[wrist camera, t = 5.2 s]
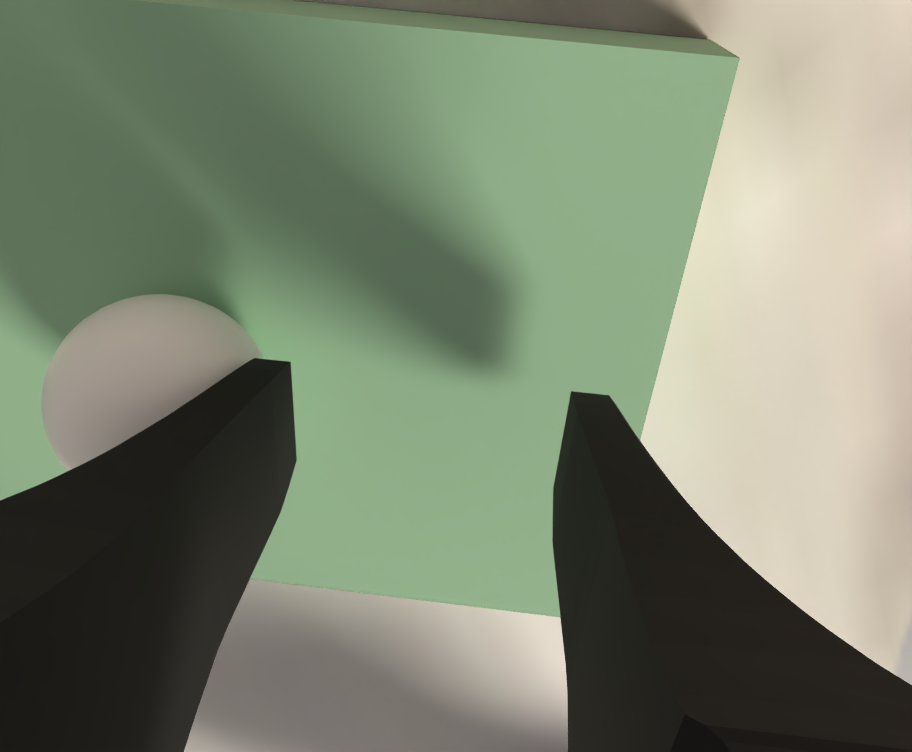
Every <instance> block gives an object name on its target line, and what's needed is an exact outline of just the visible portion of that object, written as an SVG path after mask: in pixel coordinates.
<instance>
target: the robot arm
mask: <svg viewBox="0 0 912 752" xmlns="http://www.w3.org/2000/svg"><path fill="white" fill-rule="evenodd" d="M296 461H297V455H296V439H295V423H294V407H293V391H292V375H291V362H288V361H278V360H269V359H259V358H253V359H252V360H250V361H248V362H247V363H245V364H244V365H242V366H241V367H239V368H238V369H236V370H235V371H233V372H232V373H230V374H229V375H227V376H226V377H224V378H223V379H221V380H220V381H218V382H217V383H215V384H214V385H213V386H211V387H210V388H208V389H207V390H205V391H204V392H202V393H201V394H199V395H198V396H196V397H195V398H193V399H192V400H190V401H189V402H187V403H186V404H184V405H183V406H181V407H180V408H178V409H177V410H175V411H174V412H172V413H171V414H169V415H167V416H166V417H164V418H163V419H161V420H159V421H158V422H156V423H154V424H153V425H151V426H149V427H148V428H146V429H144V430H143V431H141V432H139V433H138V434H136V435H134V436H132V437H131V438H129V439H127V440H126V441H124V442H122V443H121V444H119V445H117V446H116V447H114V448H112V449H110V450H108V451H107V452H105V453H103V454H101V455H99V456H97V457H95V458H93V459H91V460H90V461H88V462H86V463H84V464H82V465H80V466H78V467H75V468H73V469H71V470H69V471H67V472H65V473H63V474H61V475H59V476H57V477H55V478H53V479H50V480H48V481H46V482H44V483H42V484H39V485H37V486H35V487H32V488H30V489H27V490H25V491H22V492H20V493H17V494H15V495H12V496H10V497H8V498H5V499H3V500H0V752H184V749H185V746H186V743H187V740H188V736H189V733H190V730H191V727H192V724H193V721H194V718H195V715H196V712H197V709H198V706H199V703H200V700H201V697H202V694H203V691H204V688H205V685H206V683H207V680H208V677H209V674H210V671H211V668H212V665H213V662H214V659H215V657H216V654H217V651H218V648H219V646H220V643H221V641H222V639H223V636H224V634H225V631H226V629H227V627H228V624H229V622H230V620H231V618H232V616H233V613H234V611H235V609H236V607H237V605H238V603H239V601H240V599H241V596H242V594H243V592H244V590H245V588H246V586H247V584H248V582H249V579H250V577H251V575H252V573H253V571H254V569H255V567H256V565H257V562H258V560H259V558H260V556H261V554H262V552H263V550H264V548H265V545H266V543H267V541H268V539H269V537H270V535H271V532H272V530H273V528H274V526H275V524H276V521H277V519H278V517H279V515H280V512H281V510H282V507H283V504H284V501H285V497H286V494H287V491H288V488H289V485H290V481H291V478H292V475H293V471H294V468H295V464H296ZM552 542H553V552H554V562H555V571H556V580H557V590H558V598H559V607H560V616H561V625H562V634H563V643H564V652H565V661H566V674H567V689H568V752H912V685H910V684H909V683H907V682H905V681H904V680H902V679H901V678H899V677H897V676H896V675H894V674H892V673H891V672H889V671H888V670H886V669H884V668H883V667H881V666H880V665H878V664H877V663H875V662H874V661H872V660H871V659H869V658H868V657H866V656H865V655H863V654H862V653H861V652H859V651H858V650H856V649H855V648H853V647H852V646H851V645H849V644H848V643H846V642H845V641H843V640H842V639H841V638H839V637H838V636H836V635H835V634H833V633H832V632H831V631H829V630H828V629H826V628H825V627H824V626H822V625H821V624H820V623H818V622H817V621H816V620H814V619H813V618H812V617H811V616H809V615H808V614H807V613H805V612H804V611H803V610H801V609H800V608H799V607H798V606H796V605H795V604H794V603H793V602H791V601H790V600H789V599H788V598H787V597H785V596H784V595H783V594H782V593H781V592H779V591H778V590H777V589H776V588H774V587H773V586H772V585H771V584H770V583H768V582H767V581H766V580H765V579H764V578H762V577H761V576H760V575H759V574H758V573H757V572H756V571H755V570H753V569H752V568H751V567H750V566H749V565H748V564H747V563H746V562H744V561H743V560H742V559H741V558H740V557H739V556H738V555H737V554H736V553H735V552H734V551H733V550H732V549H731V548H730V547H729V546H728V545H727V544H726V543H725V542H724V541H723V540H722V539H721V538H720V537H719V536H718V535H717V534H716V533H715V532H714V531H713V530H712V529H711V528H710V527H709V526H708V525H707V524H706V523H705V522H704V521H703V520H702V519H701V518H700V516H699V515H698V514H697V513H696V512H695V511H694V510H693V508H692V507H691V506H690V505H689V504H688V503H687V502H686V500H685V499H684V498H683V497H682V496H681V494H680V493H679V492H678V491H677V490H676V488H675V487H674V486H673V485H672V483H671V482H670V481H669V479H668V478H667V477H666V475H665V474H664V473H663V472H662V470H661V469H660V468H659V466H658V465H657V464H656V462H655V461H654V460H653V458H652V457H651V456H650V454H649V453H648V451H647V450H646V449H645V447H644V446H643V444H642V443H641V441H640V440H639V438H638V437H637V436H636V434H635V433H634V431H633V430H632V428H631V427H630V425H629V424H628V422H627V421H626V419H625V418H624V416H623V415H622V413H621V411H620V410H619V408H618V407H617V405H616V404H615V402H614V401H613V400H612V398H611V397H610V396H609V395H602V394H593V393H583V392H574V391H571V394H570V400H569V405H568V410H567V416H566V421H565V427H564V432H563V438H562V443H561V449H560V454H559V460H558V465H557V470H556V476H555V481H554V487H553V538H552Z"/></svg>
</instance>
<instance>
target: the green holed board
mask: <svg viewBox="0 0 912 752" xmlns="http://www.w3.org/2000/svg"><path fill="white" fill-rule="evenodd" d="M738 62H739V57H737V56H736V55H734V54H733V53H731V52H729V51H728V50H726V49H724V48H723V47H721V46H720V45H718V44H716V43H715V42H713V41H712V40H707V39H697V38H686V37H676V36H665V35H655V34H644V33H633V32H623V31H612V30H602V29H591V28H581V27H570V26H559V25H549V24H538V23H528V22H517V21H507V20H496V19H486V18H475V17H464V16H454V15H443V14H433V13H422V12H412V11H401V10H390V9H380V8H369V7H359V6H348V5H338V4H327V3H317V2H306V1H295V0H0V500H3V499H5V498H8V497H10V496H12V495H15V494H17V493H20V492H22V491H25V490H27V489H30V488H32V487H35V486H37V485H39V484H42V483H44V482H46V481H48V480H50V479H53V478H55V477H57V476H59V475H61V474H63V473H65V472H67V470H66V469H65V468H64V466H63V465H62V464H61V462H60V461H59V459H58V458H57V456H56V454H55V453H54V451H53V449H52V447H51V445H50V443H49V440H48V438H47V435H46V432H45V428H44V424H43V418H42V409H41V401H42V388H43V383H44V379H45V375H46V372H47V369H48V366H49V364H50V361H51V359H52V357H53V355H54V354H55V352H56V350H57V348H58V347H59V345H60V344H61V343H62V341H63V340H64V339H65V337H66V336H67V335H68V334H69V333H70V332H71V331H72V330H73V329H74V328H75V327H76V326H77V325H78V324H79V323H80V322H81V321H83V320H84V319H85V318H87V317H88V316H90V315H91V314H93V313H95V312H96V311H98V310H99V309H101V308H103V307H105V306H107V305H110V304H112V303H115V302H117V301H120V300H122V299H126V298H131V297H135V296H141V295H152V294H168V295H176V296H183V297H188V298H192V299H195V300H198V301H201V302H204V303H206V304H208V305H211V306H213V307H215V308H217V309H219V310H220V311H222V312H224V313H225V314H227V315H228V316H229V317H231V318H232V319H233V320H235V321H236V322H237V323H238V324H239V325H240V326H242V327H243V328H244V330H245V331H246V332H247V333H248V334H249V335H250V336H251V337H252V339H253V340H254V341H255V343H256V344H257V346H258V347H259V349H260V351H261V353H262V355H263V357H264V359H269V360H278V361H288V362H291V375H292V391H293V407H294V423H295V439H296V455H297V461H296V464H295V468H294V471H293V475H292V478H291V481H290V485H289V488H288V491H287V494H286V497H285V501H284V504H283V507H282V510H281V512H280V515H279V517H278V519H277V521H276V524H275V526H274V528H273V530H272V532H271V535H270V537H269V539H268V541H267V543H266V545H265V548H264V550H263V552H262V554H261V556H260V558H259V560H258V562H257V565H256V567H255V569H254V571H253V573H252V575H251V577H250V579H254V580H262V581H270V582H278V583H286V584H294V585H302V586H311V587H319V588H327V589H335V590H343V591H351V592H359V593H368V594H376V595H384V596H392V597H400V598H408V599H416V600H424V601H433V602H441V603H449V604H457V605H465V606H473V607H481V608H489V609H498V610H506V611H514V612H522V613H530V614H538V615H546V616H555V617H561V616H560V607H559V598H558V590H557V580H556V571H555V562H554V552H553V542H552V538H553V487H554V481H555V476H556V470H557V465H558V460H559V454H560V449H561V443H562V438H563V432H564V427H565V421H566V416H567V410H568V405H569V400H570V394H571V391H574V392H583V393H593V394H602V395H609V396H610V397H611V398H612V400H613V401H614V402H615V404H616V405H617V407H618V408H619V410H620V411H621V413H622V415H623V416H624V418H625V419H626V421H627V422H628V424H629V425H630V427H631V428H632V430H633V431H634V433H635V434H636V436H637V437H638V438H639V440H640V438H641V434H642V430H643V426H644V423H645V419H646V415H647V411H648V407H649V403H650V400H651V396H652V392H653V388H654V384H655V380H656V377H657V373H658V369H659V365H660V361H661V357H662V354H663V350H664V346H665V342H666V338H667V334H668V331H669V327H670V323H671V319H672V315H673V311H674V308H675V304H676V300H677V296H678V292H679V288H680V285H681V281H682V277H683V273H684V269H685V265H686V262H687V258H688V254H689V250H690V246H691V242H692V239H693V235H694V231H695V227H696V223H697V219H698V216H699V212H700V208H701V204H702V200H703V196H704V193H705V189H706V185H707V181H708V177H709V173H710V170H711V166H712V162H713V158H714V154H715V150H716V147H717V143H718V139H719V135H720V131H721V127H722V124H723V120H724V116H725V112H726V108H727V104H728V101H729V97H730V93H731V89H732V85H733V81H734V78H735V74H736V70H737V66H738Z"/></svg>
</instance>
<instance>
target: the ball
mask: <svg viewBox="0 0 912 752" xmlns="http://www.w3.org/2000/svg"><path fill="white" fill-rule="evenodd" d="M253 358H259V359H264V357H263V355H262V353H261V351H260V349H259V347H258V346H257V344H256V343H255V341H254V340H253V339H252V337H251V336H250V335H249V334H248V333H247V332H246V331H245V330H244V328H243V327H242V326H240V325H239V324H238V323H237V322H236V321H235V320H233V319H232V318H231V317H229V316H228V315H227V314H225V313H224V312H222V311H220V310H219V309H217V308H215V307H213V306H211V305H208V304H206V303H204V302H201V301H198V300H195V299H192V298H188V297H183V296H176V295H168V294H152V295H141V296H135V297H131V298H126V299H122V300H120V301H117V302H115V303H112V304H110V305H107V306H105V307H103V308H101V309H99V310H98V311H96V312H95V313H93V314H91V315H90V316H88V317H87V318H85V319H84V320H83V321H81V322H80V323H79V324H78V325H77V326H76V327H75V328H74V329H73V330H72V331H71V332H70V333H69V334H68V335H67V336H66V337H65V339H64V340H63V341H62V343H61V344H60V345H59V347H58V348H57V350H56V352H55V354H54V355H53V357H52V359H51V361H50V364H49V366H48V369H47V372H46V375H45V379H44V383H43V388H42V401H41V409H42V418H43V424H44V428H45V432H46V435H47V438H48V440H49V443H50V445H51V447H52V449H53V451H54V453H55V454H56V456H57V458H58V459H59V461H60V462H61V464H62V465H63V466H64V468H65V469H66V470H67V471H69V470H71V469H73V468H75V467H78V466H80V465H82V464H84V463H86V462H88V461H90V460H91V459H93V458H95V457H97V456H99V455H101V454H103V453H105V452H107V451H108V450H110V449H112V448H114V447H116V446H117V445H119V444H121V443H122V442H124V441H126V440H127V439H129V438H131V437H132V436H134V435H136V434H138V433H139V432H141V431H143V430H144V429H146V428H148V427H149V426H151V425H153V424H154V423H156V422H158V421H159V420H161V419H163V418H164V417H166V416H167V415H169V414H171V413H172V412H174V411H175V410H177V409H178V408H180V407H181V406H183V405H184V404H186V403H187V402H189V401H190V400H192V399H193V398H195V397H196V396H198V395H199V394H201V393H202V392H204V391H205V390H207V389H208V388H210V387H211V386H213V385H214V384H215V383H217V382H218V381H220V380H221V379H223V378H224V377H226V376H227V375H229V374H230V373H232V372H233V371H235V370H236V369H238V368H239V367H241V366H242V365H244V364H245V363H247V362H248V361H250V360H252V359H253Z"/></svg>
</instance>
